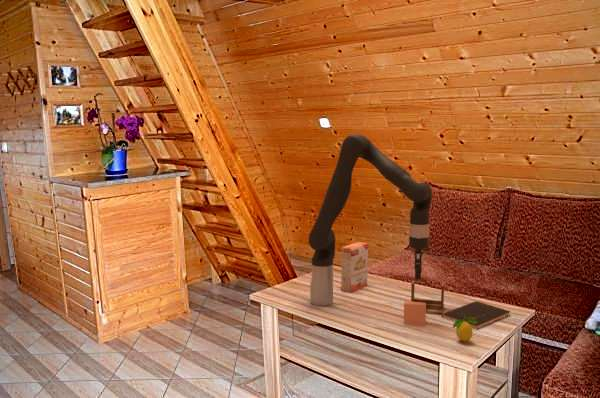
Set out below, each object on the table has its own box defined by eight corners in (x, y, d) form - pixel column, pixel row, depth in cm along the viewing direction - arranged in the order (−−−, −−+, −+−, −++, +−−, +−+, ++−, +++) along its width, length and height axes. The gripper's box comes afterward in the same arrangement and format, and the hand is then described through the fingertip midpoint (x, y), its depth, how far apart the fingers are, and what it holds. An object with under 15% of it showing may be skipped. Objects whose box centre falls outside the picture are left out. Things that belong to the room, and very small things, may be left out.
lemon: (476, 341, 180) (477, 314, 178) (470, 346, 175) (471, 319, 174) (458, 336, 184) (458, 310, 183) (451, 342, 179) (452, 314, 178)
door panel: (403, 323, 197) (404, 303, 196) (404, 320, 200) (404, 300, 198) (425, 325, 194) (425, 305, 193) (425, 322, 197) (425, 302, 196)
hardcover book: (510, 316, 204) (510, 311, 203) (476, 331, 190) (476, 325, 189) (475, 305, 216) (475, 300, 216) (441, 318, 202) (441, 313, 202)
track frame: (410, 312, 208) (410, 286, 207) (412, 302, 220) (412, 277, 218) (443, 315, 205) (443, 288, 203) (443, 304, 216) (444, 279, 214)
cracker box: (351, 293, 232) (351, 248, 229) (340, 290, 236) (340, 246, 233) (368, 285, 243) (368, 242, 240) (357, 283, 247) (358, 241, 244)
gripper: (410, 230, 202) (409, 270, 204) (408, 238, 188) (407, 280, 191) (429, 231, 200) (428, 271, 202) (428, 239, 186) (428, 282, 189)
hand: (418, 275), depth 197 cm, fingers open, 8 cm apart
